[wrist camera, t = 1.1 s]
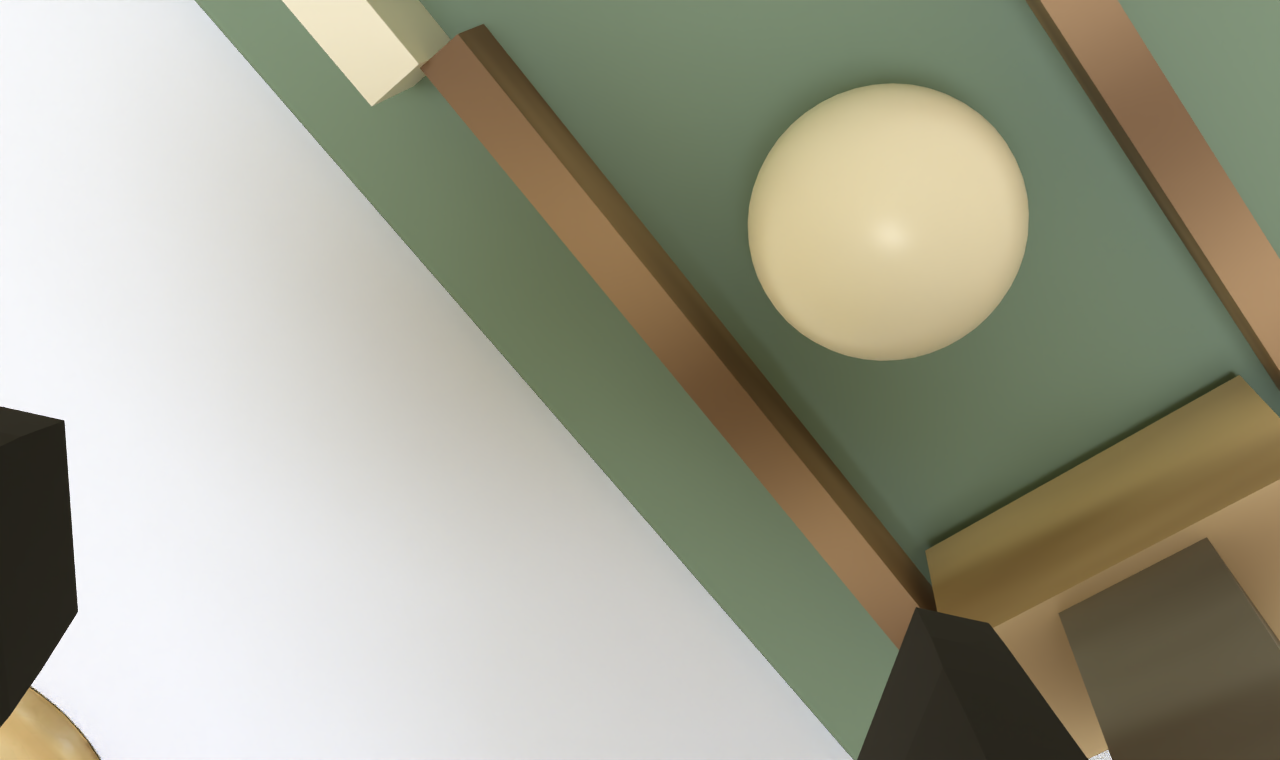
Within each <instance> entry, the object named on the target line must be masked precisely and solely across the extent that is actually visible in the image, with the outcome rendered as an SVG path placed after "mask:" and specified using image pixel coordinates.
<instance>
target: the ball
mask: <svg viewBox="0 0 1280 760" xmlns="http://www.w3.org/2000/svg"><path fill="white" fill-rule="evenodd" d="M1028 222H1029V209H1028V198H1027V192H1026V188H1025V184H1024V180H1023V176H1022V174H1021V171H1020V169H1019V166H1018V164H1017V161H1016V159H1015V157H1014V156H1013V154H1012V152H1011V150H1010V149H1009V147H1008V145H1007V143H1006V142H1005V140H1004V139H1003V138H1002V137H1001V135H1000V134H999V133H998V132H997V130H996V129H995V128H994V127H993V126H992V125H991V124H990V123H989V122H988V121H987V120H986V119H985V118H984V117H983V116H982V115H980V114H979V113H978V112H976V111H975V110H973V109H972V108H970V107H969V106H968V105H966V104H965V103H963V102H961V101H959V100H957V99H955V98H953V97H951V96H949V95H947V94H945V93H942V92H939V91H936V90H933V89H930V88H926V87H921V86H916V85H911V84H896V83H889V84H875V85H869V86H864V87H859V88H855V89H852V90H849V91H846V92H843V93H840V94H837V95H835V96H833V97H831V98H829V99H827V100H825V101H823V102H821V103H819V104H818V105H816V106H815V107H813V108H812V109H810V110H809V111H807V112H805V113H804V114H803V115H802V116H801V117H800V118H798V119H797V120H796V121H795V122H794V123H793V124H791V125H790V126H789V128H788V129H787V130H786V131H785V132H784V133H783V134H782V135H781V136H780V138H779V139H778V140H777V142H776V143H775V145H774V146H773V147H772V149H771V150H770V152H769V153H768V155H767V157H766V159H765V161H764V163H763V165H762V167H761V169H760V171H759V173H758V176H757V179H756V181H755V184H754V187H753V190H752V195H751V199H750V204H749V213H748V239H749V247H750V252H751V258H752V262H753V265H754V268H755V271H756V274H757V277H758V279H759V281H760V283H761V285H762V287H763V289H764V291H765V293H766V295H767V296H768V298H769V299H770V301H771V302H772V304H773V305H774V307H775V308H776V309H777V311H778V312H779V313H780V314H781V315H782V316H783V317H784V319H785V320H786V321H787V322H788V323H789V324H791V325H792V326H793V327H794V328H795V329H796V330H797V331H799V332H800V333H801V334H803V335H804V336H806V337H807V338H809V339H810V340H812V341H813V342H815V343H817V344H819V345H821V346H823V347H825V348H828V349H830V350H832V351H834V352H837V353H840V354H843V355H846V356H850V357H855V358H860V359H866V360H877V361H888V360H902V359H908V358H914V357H918V356H922V355H925V354H929V353H932V352H934V351H937V350H939V349H942V348H944V347H947V346H948V345H950V344H952V343H954V342H956V341H958V340H959V339H961V338H963V337H964V336H965V335H967V334H968V333H970V332H971V331H972V330H974V329H975V328H976V327H977V326H979V325H980V324H981V323H982V322H983V321H984V320H985V319H986V318H987V317H988V316H989V315H990V314H991V313H992V312H993V310H994V309H995V308H996V307H997V306H998V305H999V303H1000V302H1001V301H1002V299H1003V297H1004V296H1005V294H1006V293H1007V291H1008V290H1009V288H1010V287H1011V285H1012V283H1013V281H1014V279H1015V277H1016V275H1017V273H1018V271H1019V268H1020V265H1021V262H1022V259H1023V256H1024V253H1025V248H1026V243H1027V237H1028Z"/></svg>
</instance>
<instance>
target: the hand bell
mask: <svg viewBox="0 0 1280 760" xmlns="http://www.w3.org/2000/svg"><path fill="white" fill-rule="evenodd" d="M0 760H99V759H98V757H97V755H96V754H95V752H94V751H93V749H92V748H91V746H90V745H89V743H88V741H87V740H86V739H85V738H84V737H83V735H82V734H81V733H80V732H79V731H78V729H77V728H76V727H75V726H74V725H73V724H72V723H71V722H70V721H69V720H68V718H67V717H66V716H65V715H64V714H63V713H62V712H61V711H59V710H58V709H57V708H56V707H55V706H54V705H52V704H51V703H50V702H49V701H47V700H46V699H45V698H44V697H42V696H41V695H40V694H38V693H37V692H35V691H34V690H32V689H31V688H29V689H28V690H27V692H26V693H25V695H24V696H23V698H22V699H21V701H20V702H19V703H18V705H17V706H16V708H15V709H14V711H13V712H12V714H11V715H10V716H9V718H8V719H7V720H6V721H5V722H4V724H3V725H2V726H1V727H0Z"/></svg>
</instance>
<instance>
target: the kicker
mask: <svg viewBox="0 0 1280 760" xmlns="http://www.w3.org/2000/svg"><path fill="white" fill-rule="evenodd" d="M925 553H926V558H927V563H928V568H929V573H930V578H931V583H932V588H933V593H934V598H935V603H936V608H937V612H941V613H945V614H950V615H954V616H959V617H963V618H968V619H972V620H977V621H982V622H986V623H989V624H990V625H991V626H992V628H993V629H994V630H995V632H996V633H997V634H998V635H999V637H1000V638H1001V639H1002V641H1003V642H1004V643H1005V645H1006V646H1007V647H1008V649H1009V650H1010V651H1011V653H1012V654H1013V656H1014V657H1015V658H1016V660H1017V661H1018V663H1019V664H1020V665H1021V667H1022V668H1023V669H1024V671H1025V672H1026V674H1027V675H1028V676H1029V678H1030V679H1031V681H1032V682H1033V683H1034V685H1035V686H1036V688H1037V689H1038V690H1039V692H1040V693H1041V695H1042V696H1043V697H1044V699H1045V700H1046V702H1047V703H1048V704H1049V706H1050V707H1051V709H1052V710H1053V711H1054V713H1055V714H1056V715H1057V717H1058V718H1059V720H1060V721H1061V722H1062V724H1063V725H1064V727H1065V728H1066V729H1067V731H1068V732H1069V733H1070V735H1071V736H1072V738H1073V739H1074V740H1075V742H1076V743H1077V745H1078V746H1079V747H1080V749H1081V750H1082V751H1083V753H1084V754H1085V756H1086V757H1087V758H1088V759H1089V758H1091V757H1093V756H1095V755H1098V754H1100V753H1102V752H1104V751H1106V750H1108V749H1109V752H1110V755H1111V757H1112V760H1280V418H1279V417H1278V415H1277V414H1276V413H1275V412H1274V411H1273V410H1272V409H1271V408H1270V407H1269V406H1268V405H1267V404H1266V403H1265V402H1264V401H1263V399H1262V398H1261V397H1260V396H1259V395H1258V394H1257V393H1256V392H1255V391H1254V390H1253V389H1252V388H1251V387H1250V386H1249V385H1248V383H1247V382H1246V381H1245V380H1244V379H1243V378H1242V377H1241V376H1240V375H1238V376H1237V377H1235V378H1233V379H1231V380H1229V381H1228V382H1226V383H1224V384H1222V385H1220V386H1219V387H1217V388H1215V389H1213V390H1212V391H1210V392H1208V393H1206V394H1204V395H1203V396H1201V397H1199V398H1197V399H1195V400H1194V401H1192V402H1190V403H1188V404H1186V405H1185V406H1183V407H1181V408H1179V409H1178V410H1176V411H1174V412H1172V413H1170V414H1169V415H1167V416H1165V417H1163V418H1161V419H1160V420H1158V421H1156V422H1154V423H1153V424H1151V425H1149V426H1147V427H1145V428H1144V429H1142V430H1140V431H1138V432H1136V433H1135V434H1133V435H1131V436H1129V437H1127V438H1126V439H1124V440H1122V441H1120V442H1119V443H1117V444H1115V445H1113V446H1111V447H1110V448H1108V449H1106V450H1104V451H1102V452H1101V453H1099V454H1097V455H1095V456H1094V457H1092V458H1090V459H1088V460H1086V461H1085V462H1083V463H1081V464H1079V465H1077V466H1076V467H1074V468H1072V469H1070V470H1068V471H1067V472H1065V473H1063V474H1061V475H1060V476H1058V477H1056V478H1054V479H1052V480H1051V481H1049V482H1047V483H1045V484H1043V485H1042V486H1040V487H1038V488H1036V489H1035V490H1033V491H1031V492H1029V493H1027V494H1026V495H1024V496H1022V497H1020V498H1018V499H1017V500H1015V501H1013V502H1011V503H1010V504H1008V505H1006V506H1004V507H1002V508H1001V509H999V510H997V511H995V512H993V513H992V514H990V515H988V516H986V517H984V518H983V519H981V520H979V521H977V522H976V523H974V524H972V525H970V526H968V527H967V528H965V529H963V530H961V531H959V532H958V533H956V534H954V535H952V536H951V537H949V538H947V539H945V540H943V541H942V542H940V543H938V544H936V545H934V546H933V547H931V548H929V549H927V550H925Z"/></svg>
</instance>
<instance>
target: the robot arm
mask: <svg viewBox="0 0 1280 760" xmlns="http://www.w3.org/2000/svg"><path fill="white" fill-rule="evenodd" d="M77 612H78V606H77V592H76V578H75V564H74V550H73V536H72V522H71V508H70V493H69V479H68V465H67V451H66V437H65V423H64V420H60V419H55V418H50V417H46V416H41V415H37V414H32V413H28V412H23V411H19V410H14V409H9V408H5V407H0V727H1V726H2V725H3V724H4V722H5V721H6V720H7V719H8V718H9V716H10V715H11V714H12V712H13V711H14V709H15V708H16V706H17V705H18V703H19V702H20V701H21V699H22V698H23V696H24V695H25V693H26V692H27V690H28V689H29V687H30V686H31V684H32V683H33V681H34V680H35V678H36V677H37V676H38V674H39V673H40V671H41V670H42V668H43V667H44V665H45V663H46V662H47V660H48V659H49V657H50V655H51V654H52V652H53V651H54V649H55V647H56V646H57V644H58V643H59V641H60V640H61V638H62V636H63V635H64V633H65V632H66V630H67V628H68V627H69V625H70V624H71V622H72V620H73V619H74V617H75V616H76V614H77ZM857 760H1088V758H1087V757H1086V756H1085V754H1084V753H1083V751H1082V750H1081V749H1080V747H1079V746H1078V745H1077V743H1076V742H1075V740H1074V739H1073V738H1072V736H1071V735H1070V733H1069V732H1068V731H1067V729H1066V728H1065V727H1064V725H1063V724H1062V722H1061V721H1060V720H1059V718H1058V717H1057V715H1056V714H1055V713H1054V711H1053V710H1052V709H1051V707H1050V706H1049V704H1048V703H1047V702H1046V700H1045V699H1044V697H1043V696H1042V695H1041V693H1040V692H1039V690H1038V689H1037V688H1036V686H1035V685H1034V683H1033V682H1032V681H1031V679H1030V678H1029V676H1028V675H1027V674H1026V672H1025V671H1024V669H1023V668H1022V667H1021V665H1020V664H1019V663H1018V661H1017V660H1016V658H1015V657H1014V656H1013V654H1012V653H1011V651H1010V650H1009V649H1008V647H1007V646H1006V645H1005V643H1004V642H1003V641H1002V639H1001V638H1000V637H999V635H998V634H997V633H996V632H995V630H994V629H993V628H992V626H991V625H990V624H989V623H986V622H982V621H977V620H972V619H968V618H963V617H959V616H954V615H950V614H945V613H941V612H936V611H931V610H927V609H922V608H918V607H916V608H915V610H914V613H913V615H912V618H911V621H910V623H909V626H908V628H907V631H906V634H905V636H904V639H903V642H902V644H901V647H900V649H899V652H898V655H897V657H896V660H895V662H894V665H893V668H892V670H891V673H890V675H889V678H888V681H887V683H886V686H885V688H884V691H883V694H882V696H881V699H880V701H879V704H878V707H877V709H876V712H875V714H874V717H873V720H872V722H871V725H870V727H869V730H868V733H867V735H866V738H865V740H864V743H863V746H862V748H861V751H860V753H859V756H858V759H857Z"/></svg>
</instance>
